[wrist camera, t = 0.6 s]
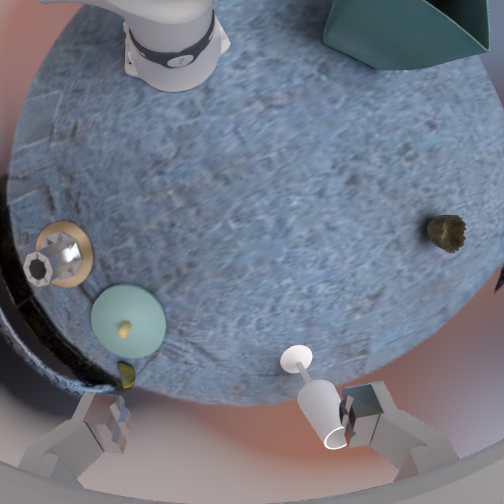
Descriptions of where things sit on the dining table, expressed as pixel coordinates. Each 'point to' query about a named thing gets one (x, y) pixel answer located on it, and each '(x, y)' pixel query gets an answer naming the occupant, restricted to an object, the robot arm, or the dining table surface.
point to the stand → (84, 245)
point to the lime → (126, 375)
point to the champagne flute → (316, 398)
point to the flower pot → (408, 31)
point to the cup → (447, 232)
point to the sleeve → (54, 260)
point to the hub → (129, 320)
